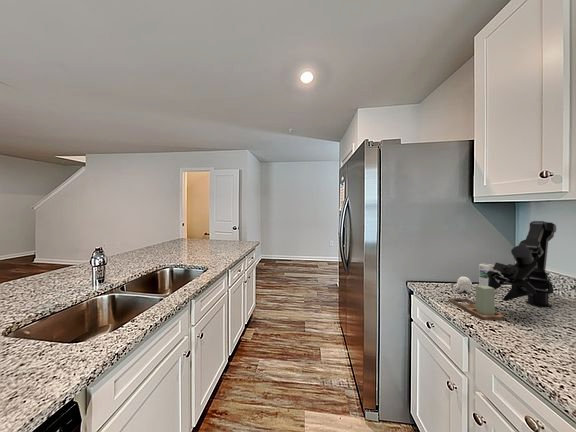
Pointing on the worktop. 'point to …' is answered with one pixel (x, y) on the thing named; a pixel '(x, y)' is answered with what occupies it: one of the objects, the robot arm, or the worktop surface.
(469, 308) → the copper brown frame
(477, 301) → the sage peg
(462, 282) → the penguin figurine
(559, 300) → the worktop surface
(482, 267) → the syrup box
